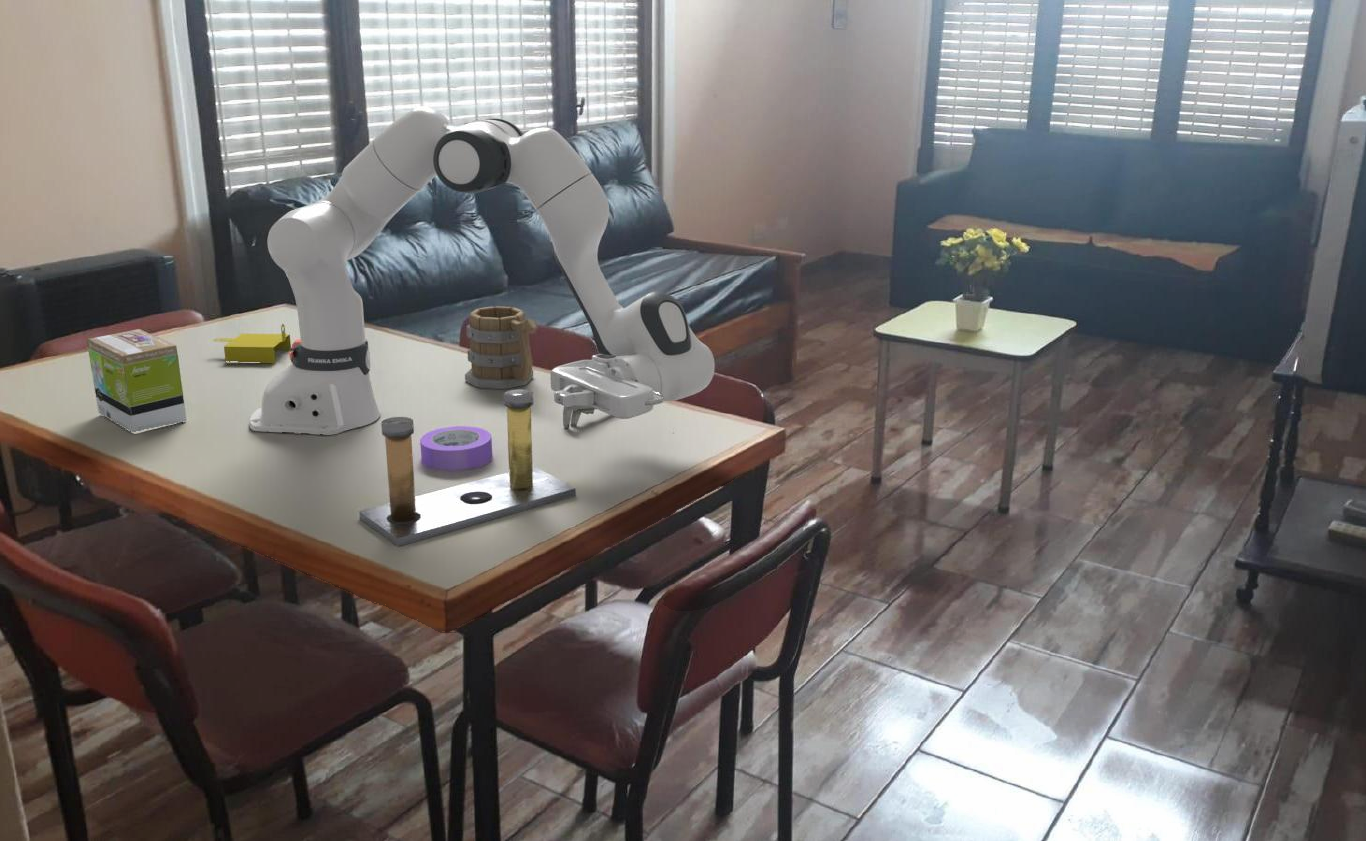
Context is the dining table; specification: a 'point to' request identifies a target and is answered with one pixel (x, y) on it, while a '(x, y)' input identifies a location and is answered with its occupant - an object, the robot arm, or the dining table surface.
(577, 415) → the caliper
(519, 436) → the pin
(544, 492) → the plate
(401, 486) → the fixed pin
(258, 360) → the bracket
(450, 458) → the masking tape
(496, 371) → the tankard
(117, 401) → the tea box
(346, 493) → the dining table surface
